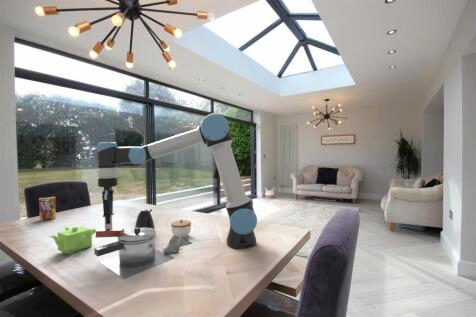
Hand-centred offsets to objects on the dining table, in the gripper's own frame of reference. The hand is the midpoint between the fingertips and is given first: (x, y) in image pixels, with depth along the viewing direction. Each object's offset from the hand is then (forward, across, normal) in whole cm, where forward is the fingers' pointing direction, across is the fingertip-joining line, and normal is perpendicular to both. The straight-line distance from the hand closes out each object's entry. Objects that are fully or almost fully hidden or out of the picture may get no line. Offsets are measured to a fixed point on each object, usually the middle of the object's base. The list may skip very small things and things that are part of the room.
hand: (108, 230), depth 107 cm
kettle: (+12, -14, -17) cm, 25 cm away
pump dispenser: (+12, -22, +14) cm, 29 cm away
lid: (+1, +9, +8) cm, 12 cm away
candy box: (+12, -84, -51) cm, 99 cm away
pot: (+11, +12, +8) cm, 18 cm away
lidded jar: (+12, -16, +33) cm, 39 cm away
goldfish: (+13, 0, +30) cm, 33 cm away
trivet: (+12, +10, +12) cm, 20 cm away
